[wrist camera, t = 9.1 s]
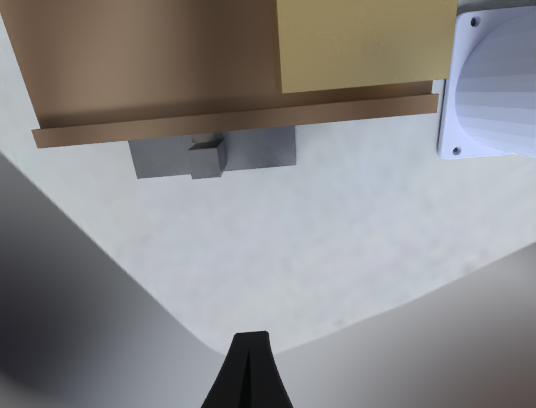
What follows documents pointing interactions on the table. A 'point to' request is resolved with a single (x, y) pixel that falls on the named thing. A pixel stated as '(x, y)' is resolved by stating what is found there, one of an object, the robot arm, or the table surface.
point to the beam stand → (214, 153)
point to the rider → (360, 42)
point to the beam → (171, 72)
